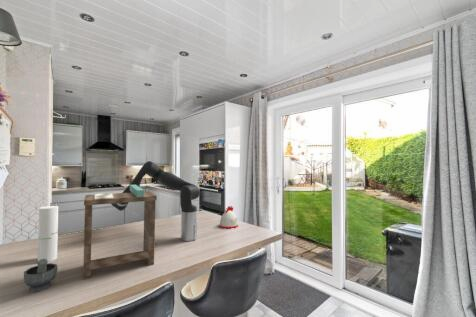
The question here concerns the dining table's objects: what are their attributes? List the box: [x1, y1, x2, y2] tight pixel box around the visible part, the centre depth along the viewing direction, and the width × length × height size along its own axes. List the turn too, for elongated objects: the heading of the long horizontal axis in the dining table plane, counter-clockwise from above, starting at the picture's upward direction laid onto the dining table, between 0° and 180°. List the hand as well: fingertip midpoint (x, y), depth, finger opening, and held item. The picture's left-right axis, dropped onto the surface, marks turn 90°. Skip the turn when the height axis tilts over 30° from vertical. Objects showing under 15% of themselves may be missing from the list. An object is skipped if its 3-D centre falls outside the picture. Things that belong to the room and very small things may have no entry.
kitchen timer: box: [219, 205, 239, 230], centre depth 171 cm, size 14×14×15 cm
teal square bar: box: [129, 184, 145, 197], centre depth 113 cm, size 3×26×3 cm, turn 32°
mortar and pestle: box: [23, 259, 58, 293], centre depth 85 cm, size 11×9×12 cm
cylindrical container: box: [37, 205, 59, 263], centre depth 110 cm, size 7×7×25 cm
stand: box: [82, 191, 158, 281], centre depth 105 cm, size 28×16×32 cm, turn 122°
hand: (128, 194), depth 133 cm, fingers open, 8 cm apart
